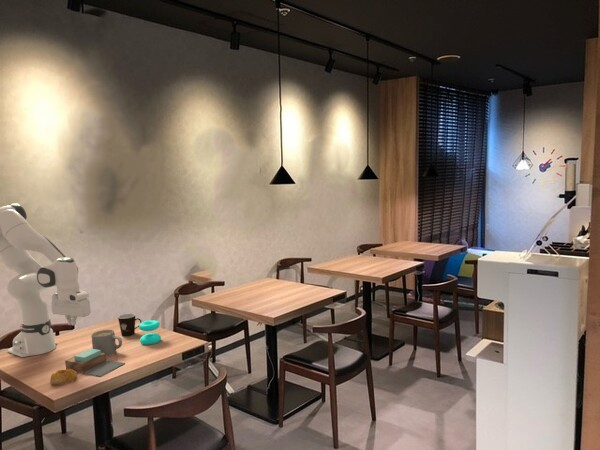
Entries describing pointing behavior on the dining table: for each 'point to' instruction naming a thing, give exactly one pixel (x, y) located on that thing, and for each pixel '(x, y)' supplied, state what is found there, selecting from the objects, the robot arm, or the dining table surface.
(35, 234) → the robot arm
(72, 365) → the brown block
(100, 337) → the coffee mug
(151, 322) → the donuts
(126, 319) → the coffee mug
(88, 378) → the dining table surface
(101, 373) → the mat
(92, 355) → the mint green block
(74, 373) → the bagel
